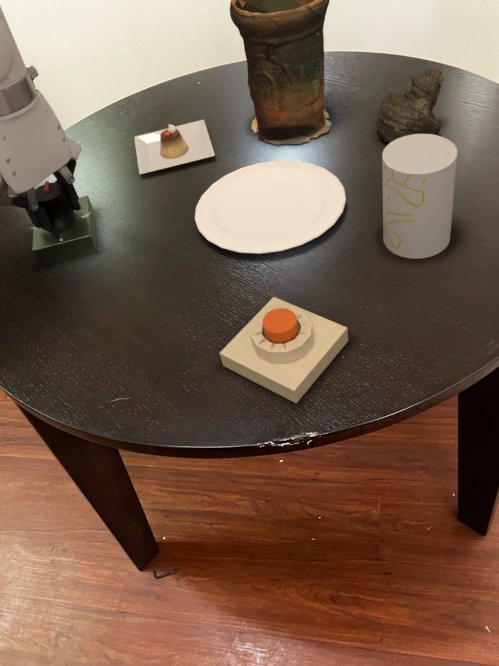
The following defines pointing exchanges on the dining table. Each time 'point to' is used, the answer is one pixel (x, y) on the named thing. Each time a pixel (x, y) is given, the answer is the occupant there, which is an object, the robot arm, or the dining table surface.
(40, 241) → the dial panel
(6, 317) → the dining table surface
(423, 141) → the white patterned cylinder
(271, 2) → the vessel
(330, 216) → the plate
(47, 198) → the dial
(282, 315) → the button
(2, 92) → the robot arm
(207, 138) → the dessert
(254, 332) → the square push button base
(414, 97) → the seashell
